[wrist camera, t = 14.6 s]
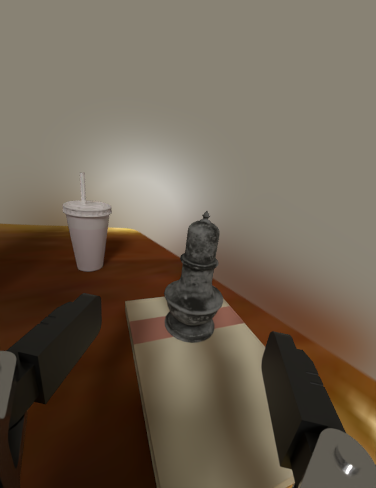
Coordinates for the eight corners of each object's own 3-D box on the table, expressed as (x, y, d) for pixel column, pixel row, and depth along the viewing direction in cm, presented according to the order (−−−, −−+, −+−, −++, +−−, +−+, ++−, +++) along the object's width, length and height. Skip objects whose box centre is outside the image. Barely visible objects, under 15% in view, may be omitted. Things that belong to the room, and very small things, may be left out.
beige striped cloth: (169, 557, 10) (171, 545, 9) (125, 309, 25) (125, 301, 25) (340, 454, 14) (348, 443, 14) (214, 298, 30) (216, 290, 29)
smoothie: (67, 258, 35) (60, 168, 30) (109, 255, 38) (108, 173, 33) (66, 278, 30) (57, 172, 25) (114, 273, 33) (115, 177, 28)
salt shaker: (196, 300, 27) (211, 204, 22) (229, 332, 22) (256, 219, 18) (152, 313, 23) (160, 203, 19) (180, 354, 19) (199, 221, 15)
